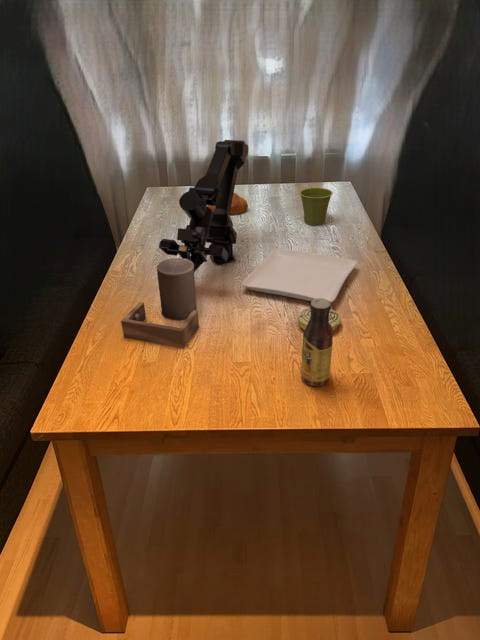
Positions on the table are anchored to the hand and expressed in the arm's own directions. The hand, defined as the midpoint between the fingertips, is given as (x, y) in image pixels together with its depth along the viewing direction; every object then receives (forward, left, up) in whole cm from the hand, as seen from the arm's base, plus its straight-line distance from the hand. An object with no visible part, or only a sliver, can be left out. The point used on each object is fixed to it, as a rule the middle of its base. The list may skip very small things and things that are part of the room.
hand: (186, 279), depth 144 cm
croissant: (-40, -60, -7) cm, 72 cm away
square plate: (-34, +5, -7) cm, 35 cm away
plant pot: (-63, -32, -7) cm, 70 cm away
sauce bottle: (-12, +46, -7) cm, 48 cm away
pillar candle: (+4, +4, -7) cm, 9 cm away
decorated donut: (-25, +28, -7) cm, 38 cm away
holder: (+12, +12, -7) cm, 18 cm away
